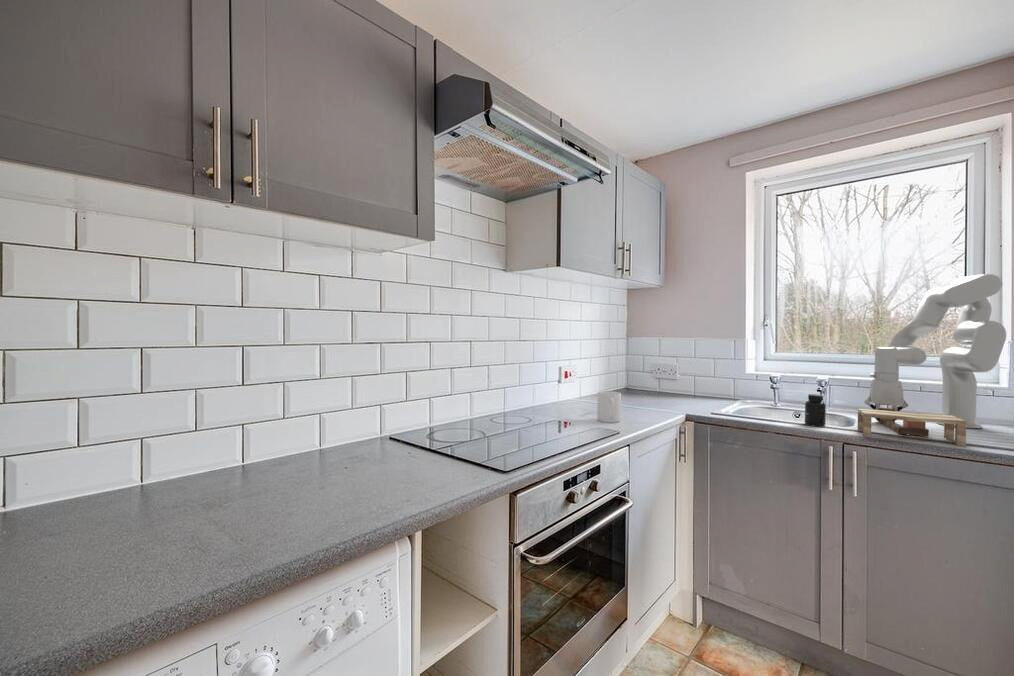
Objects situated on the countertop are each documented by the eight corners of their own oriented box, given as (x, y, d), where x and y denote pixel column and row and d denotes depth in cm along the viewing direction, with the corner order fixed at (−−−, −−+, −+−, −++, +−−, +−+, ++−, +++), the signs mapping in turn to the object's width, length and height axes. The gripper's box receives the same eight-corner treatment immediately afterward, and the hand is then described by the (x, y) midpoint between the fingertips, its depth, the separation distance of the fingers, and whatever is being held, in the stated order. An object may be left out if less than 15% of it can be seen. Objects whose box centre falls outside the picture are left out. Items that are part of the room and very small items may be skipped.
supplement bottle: (800, 423, 176) (801, 394, 176) (811, 422, 179) (811, 393, 179) (818, 427, 170) (819, 396, 169) (829, 425, 172) (829, 395, 172)
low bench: (857, 430, 165) (857, 408, 165) (951, 438, 152) (952, 415, 152) (863, 436, 155) (864, 413, 154) (965, 446, 141) (966, 421, 141)
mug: (614, 418, 185) (614, 390, 185) (628, 424, 173) (628, 394, 173) (593, 419, 183) (593, 391, 182) (606, 425, 171) (606, 395, 171)
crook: (877, 421, 181) (878, 407, 181) (906, 424, 177) (906, 409, 177) (895, 433, 159) (895, 417, 159) (928, 436, 154) (928, 420, 154)
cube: (902, 431, 163) (903, 418, 163) (920, 433, 161) (920, 419, 160) (906, 434, 159) (907, 420, 159) (925, 435, 156) (925, 422, 156)
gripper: (862, 376, 179) (861, 420, 180) (916, 379, 171) (915, 425, 171) (858, 375, 186) (857, 417, 186) (910, 377, 178) (909, 422, 178)
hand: (885, 420), depth 179 cm, fingers closed on crook, 4 cm apart
